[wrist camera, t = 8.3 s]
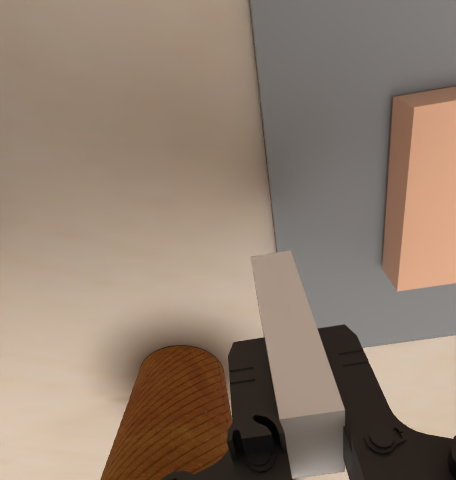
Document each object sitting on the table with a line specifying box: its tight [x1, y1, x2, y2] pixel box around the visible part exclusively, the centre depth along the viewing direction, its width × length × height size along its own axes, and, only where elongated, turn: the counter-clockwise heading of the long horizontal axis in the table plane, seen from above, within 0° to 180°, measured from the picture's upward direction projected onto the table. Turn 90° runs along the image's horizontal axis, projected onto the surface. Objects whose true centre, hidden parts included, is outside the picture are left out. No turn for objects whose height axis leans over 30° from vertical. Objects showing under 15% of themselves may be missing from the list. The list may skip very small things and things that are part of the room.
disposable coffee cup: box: [101, 346, 232, 480], centre depth 24 cm, size 10×10×12 cm
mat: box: [249, 0, 456, 348], centre depth 21 cm, size 24×18×1 cm
